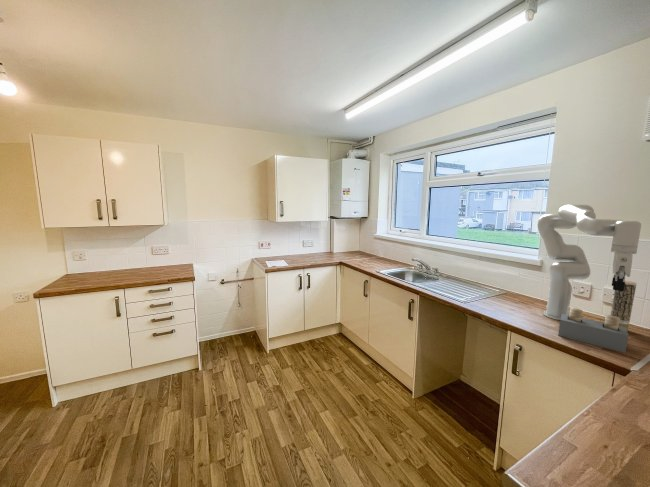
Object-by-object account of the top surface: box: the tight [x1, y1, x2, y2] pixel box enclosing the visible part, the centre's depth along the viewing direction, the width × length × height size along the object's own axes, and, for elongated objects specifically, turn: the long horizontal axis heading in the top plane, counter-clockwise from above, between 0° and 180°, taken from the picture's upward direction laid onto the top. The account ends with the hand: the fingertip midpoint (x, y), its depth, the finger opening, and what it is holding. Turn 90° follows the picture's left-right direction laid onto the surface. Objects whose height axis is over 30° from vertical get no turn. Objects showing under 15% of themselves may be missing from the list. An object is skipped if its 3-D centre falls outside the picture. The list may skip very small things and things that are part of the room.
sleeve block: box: [557, 314, 629, 354], centre depth 127 cm, size 22×11×8 cm, turn 46°
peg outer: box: [604, 314, 620, 331], centre depth 122 cm, size 4×4×7 cm
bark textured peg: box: [610, 280, 637, 332], centre depth 138 cm, size 7×7×25 cm
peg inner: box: [568, 307, 583, 322], centre depth 130 cm, size 4×4×7 cm
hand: (617, 288), depth 120 cm, fingers open, 8 cm apart
